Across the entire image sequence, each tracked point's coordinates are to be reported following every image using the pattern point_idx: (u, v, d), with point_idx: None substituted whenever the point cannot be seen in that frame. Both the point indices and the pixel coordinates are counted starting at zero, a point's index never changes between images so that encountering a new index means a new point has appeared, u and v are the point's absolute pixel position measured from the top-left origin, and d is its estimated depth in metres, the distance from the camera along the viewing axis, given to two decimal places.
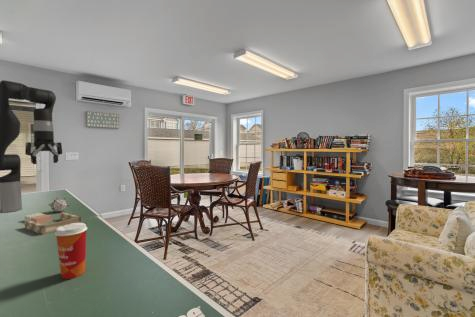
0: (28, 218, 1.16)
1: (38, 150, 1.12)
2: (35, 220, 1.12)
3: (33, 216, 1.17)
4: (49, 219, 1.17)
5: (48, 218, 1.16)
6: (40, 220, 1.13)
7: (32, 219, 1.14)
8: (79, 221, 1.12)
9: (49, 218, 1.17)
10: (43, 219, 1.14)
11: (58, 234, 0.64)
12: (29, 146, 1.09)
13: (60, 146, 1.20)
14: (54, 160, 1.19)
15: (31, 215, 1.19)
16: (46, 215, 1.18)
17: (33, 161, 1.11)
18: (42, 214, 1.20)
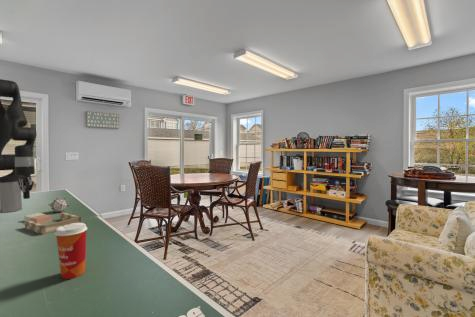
0: (28, 218, 1.16)
1: None
2: (35, 220, 1.12)
3: (33, 216, 1.17)
4: (49, 219, 1.17)
5: (48, 218, 1.16)
6: (40, 220, 1.13)
7: (32, 219, 1.14)
8: (79, 221, 1.12)
9: (49, 218, 1.17)
10: (43, 219, 1.14)
11: (58, 234, 0.64)
12: None
13: None
14: None
15: (31, 215, 1.18)
16: (46, 215, 1.18)
17: (28, 196, 1.23)
18: (42, 214, 1.20)
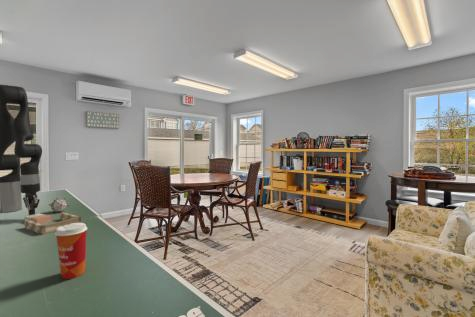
0: (28, 219, 1.15)
1: None
2: (35, 220, 1.12)
3: (34, 216, 1.16)
4: (49, 219, 1.16)
5: (48, 218, 1.16)
6: (40, 220, 1.13)
7: (32, 219, 1.13)
8: (79, 221, 1.12)
9: (49, 218, 1.16)
10: (43, 219, 1.14)
11: (58, 234, 0.64)
12: None
13: None
14: None
15: (31, 216, 1.17)
16: (46, 215, 1.18)
17: (34, 213, 1.21)
18: (42, 214, 1.19)
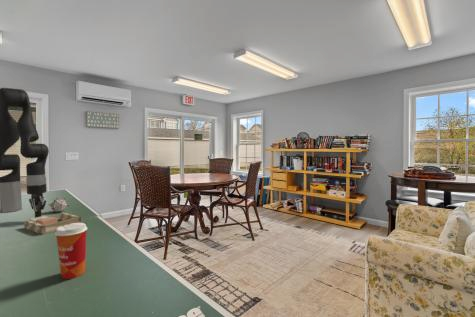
0: (33, 221, 1.11)
1: None
2: (41, 222, 1.08)
3: None
4: (55, 221, 1.13)
5: (54, 220, 1.12)
6: (46, 222, 1.09)
7: (38, 221, 1.10)
8: (79, 221, 1.12)
9: (55, 220, 1.13)
10: (49, 221, 1.10)
11: (58, 234, 0.64)
12: None
13: None
14: None
15: (36, 218, 1.14)
16: (52, 217, 1.14)
17: (40, 215, 1.17)
18: (47, 217, 1.15)
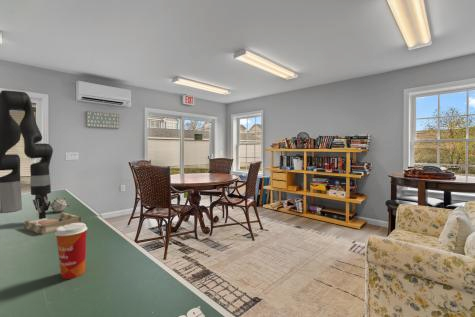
0: None
1: None
2: None
3: None
4: None
5: None
6: None
7: (39, 223, 1.07)
8: (79, 221, 1.12)
9: None
10: None
11: (58, 234, 0.64)
12: None
13: None
14: None
15: (36, 221, 1.10)
16: (54, 219, 1.11)
17: (44, 216, 1.15)
18: None
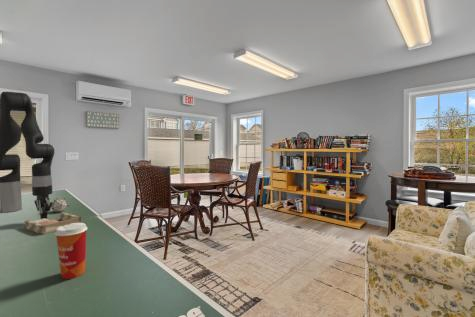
0: None
1: None
2: None
3: (37, 222, 1.07)
4: None
5: None
6: None
7: None
8: (79, 221, 1.12)
9: None
10: None
11: (58, 234, 0.64)
12: None
13: None
14: (43, 217, 1.15)
15: (36, 221, 1.09)
16: (55, 220, 1.10)
17: (46, 217, 1.15)
18: (47, 220, 1.10)
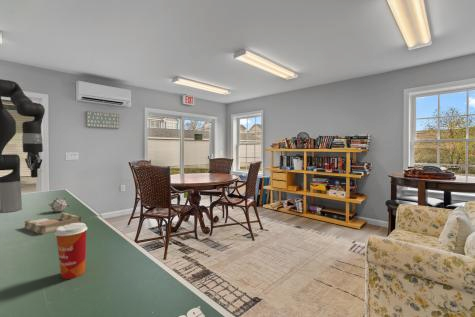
0: None
1: None
2: None
3: (38, 222, 1.07)
4: None
5: None
6: None
7: None
8: (79, 221, 1.12)
9: None
10: None
11: (58, 234, 0.64)
12: None
13: None
14: None
15: (36, 221, 1.09)
16: (55, 220, 1.10)
17: (36, 174, 1.18)
18: (48, 220, 1.10)
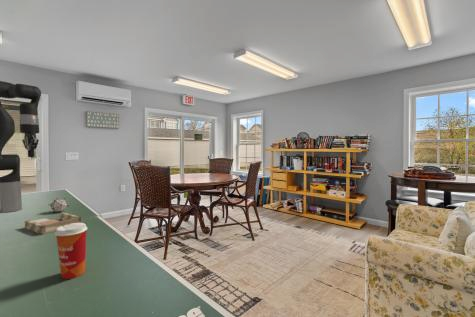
0: None
1: None
2: None
3: (38, 222, 1.07)
4: None
5: None
6: None
7: None
8: (79, 221, 1.12)
9: None
10: None
11: (58, 234, 0.64)
12: None
13: None
14: None
15: (36, 221, 1.09)
16: (54, 220, 1.10)
17: (33, 154, 1.23)
18: (48, 220, 1.10)
